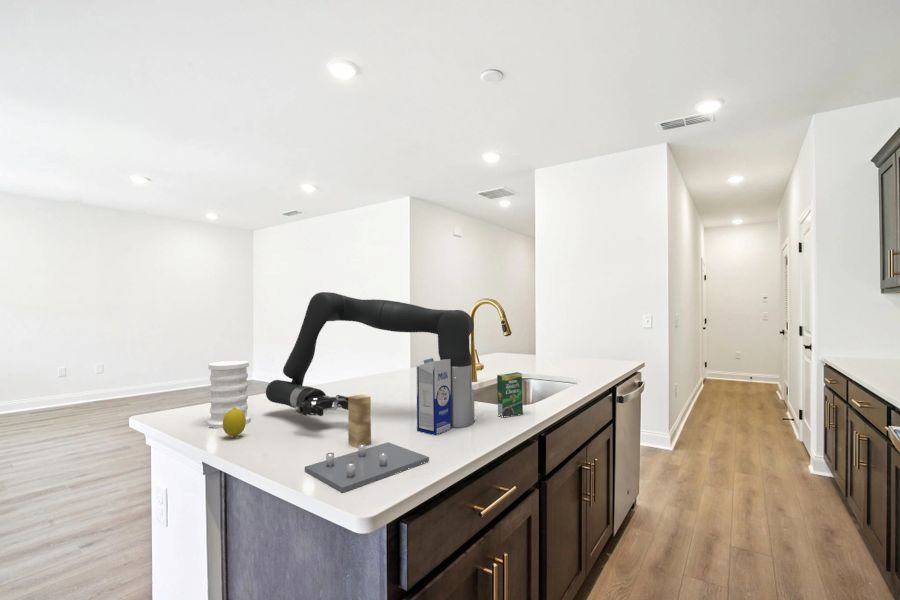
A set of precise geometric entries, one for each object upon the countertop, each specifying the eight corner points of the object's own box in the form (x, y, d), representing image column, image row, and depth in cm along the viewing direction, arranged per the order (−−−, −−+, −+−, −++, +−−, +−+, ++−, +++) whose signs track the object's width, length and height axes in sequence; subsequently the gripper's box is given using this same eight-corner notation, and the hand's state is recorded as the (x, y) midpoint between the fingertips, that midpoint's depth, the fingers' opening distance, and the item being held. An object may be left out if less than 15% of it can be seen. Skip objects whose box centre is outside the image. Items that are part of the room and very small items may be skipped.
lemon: (240, 433, 119) (239, 404, 120) (249, 437, 116) (249, 407, 116) (219, 438, 115) (218, 408, 115) (228, 442, 112) (228, 411, 112)
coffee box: (502, 418, 133) (501, 375, 133) (496, 416, 135) (496, 374, 135) (523, 414, 136) (523, 373, 136) (517, 412, 139) (517, 371, 139)
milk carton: (435, 435, 116) (434, 360, 116) (416, 431, 120) (415, 358, 120) (451, 429, 122) (450, 357, 122) (432, 425, 126) (432, 356, 126)
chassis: (388, 446, 108) (388, 432, 108) (429, 461, 97) (429, 445, 97) (304, 471, 92) (304, 454, 92) (342, 492, 81) (342, 474, 81)
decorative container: (228, 430, 122) (228, 366, 122) (197, 426, 126) (197, 364, 126) (259, 419, 133) (258, 361, 133) (229, 416, 137) (229, 359, 137)
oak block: (362, 440, 112) (361, 394, 112) (370, 444, 109) (370, 396, 109) (348, 444, 109) (348, 396, 109) (357, 448, 107) (357, 399, 107)
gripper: (284, 390, 123) (312, 399, 112) (329, 383, 134) (359, 391, 122) (284, 417, 123) (312, 428, 112) (329, 408, 134) (359, 417, 122)
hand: (336, 409), depth 117 cm, fingers open, 8 cm apart
